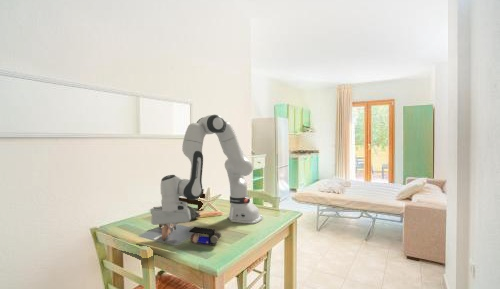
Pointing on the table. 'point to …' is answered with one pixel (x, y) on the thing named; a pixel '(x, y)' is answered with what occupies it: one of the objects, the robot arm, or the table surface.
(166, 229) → the hinged fence panel
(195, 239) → the figurine character
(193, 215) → the mineral rock
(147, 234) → the card
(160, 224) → the fixed fence section
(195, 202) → the decorative fence
